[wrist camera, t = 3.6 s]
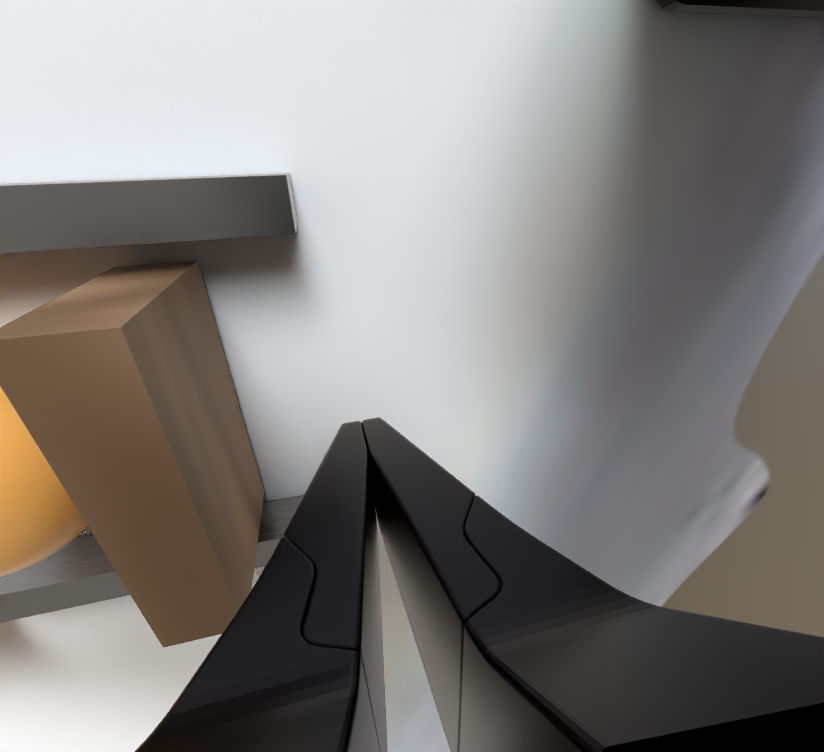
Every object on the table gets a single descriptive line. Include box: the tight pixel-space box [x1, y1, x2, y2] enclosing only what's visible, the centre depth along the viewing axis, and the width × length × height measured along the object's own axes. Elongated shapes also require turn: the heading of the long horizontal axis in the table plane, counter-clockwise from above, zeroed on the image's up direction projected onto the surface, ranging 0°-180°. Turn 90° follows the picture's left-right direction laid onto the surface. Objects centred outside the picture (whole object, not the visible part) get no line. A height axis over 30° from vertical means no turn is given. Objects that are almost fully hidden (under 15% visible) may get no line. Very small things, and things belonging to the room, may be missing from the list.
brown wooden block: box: [0, 261, 264, 648], centre depth 8 cm, size 2×7×4 cm, turn 2°
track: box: [0, 173, 304, 622], centre depth 9 cm, size 10×10×2 cm
